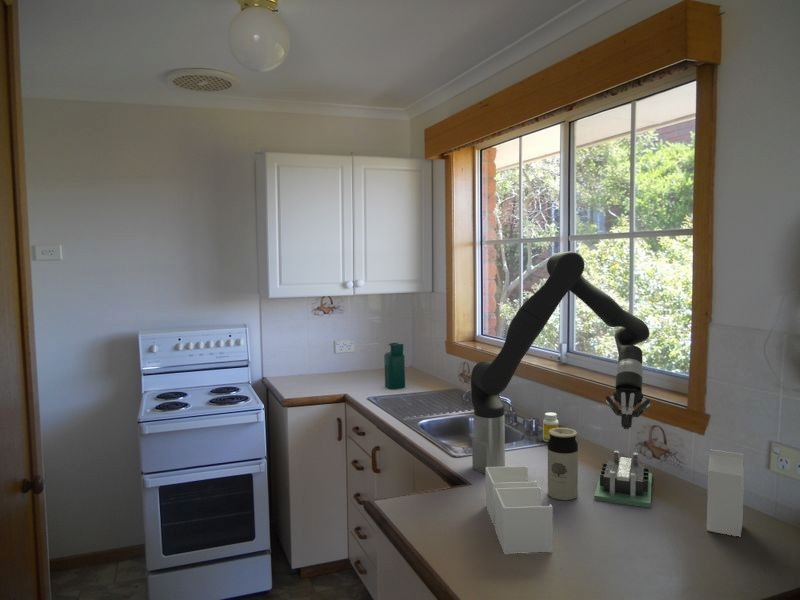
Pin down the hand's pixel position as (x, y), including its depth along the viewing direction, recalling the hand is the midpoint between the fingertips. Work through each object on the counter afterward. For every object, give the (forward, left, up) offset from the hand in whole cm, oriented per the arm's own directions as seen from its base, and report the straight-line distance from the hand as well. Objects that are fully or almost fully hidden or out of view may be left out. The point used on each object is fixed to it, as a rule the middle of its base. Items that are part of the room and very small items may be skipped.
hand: (626, 427), depth 175 cm
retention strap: (-5, -3, -10) cm, 12 cm away
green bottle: (+18, +137, -16) cm, 139 cm away
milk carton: (-8, -32, -16) cm, 37 cm away
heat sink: (-5, -3, -14) cm, 16 cm away
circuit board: (-5, -3, -16) cm, 17 cm away
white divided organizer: (-46, 0, -16) cm, 49 cm away
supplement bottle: (+12, +37, -16) cm, 42 cm away
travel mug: (-22, +5, -16) cm, 28 cm away
